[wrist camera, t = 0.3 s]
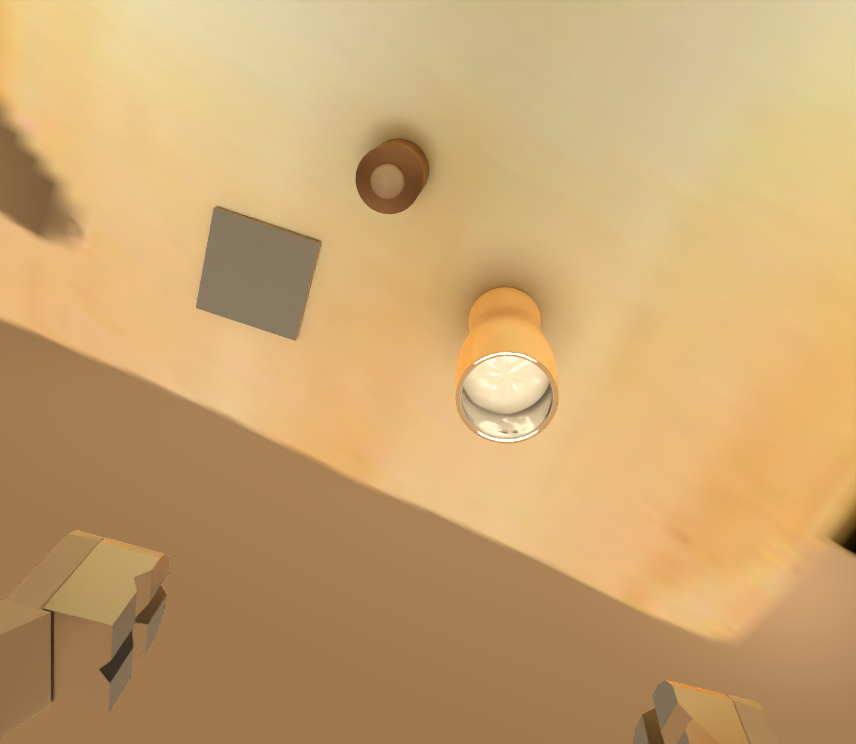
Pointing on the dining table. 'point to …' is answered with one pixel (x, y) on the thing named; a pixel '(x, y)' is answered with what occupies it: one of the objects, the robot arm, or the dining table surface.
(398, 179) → the pepper mill
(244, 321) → the coaster
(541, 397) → the beer glass
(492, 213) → the dining table surface
